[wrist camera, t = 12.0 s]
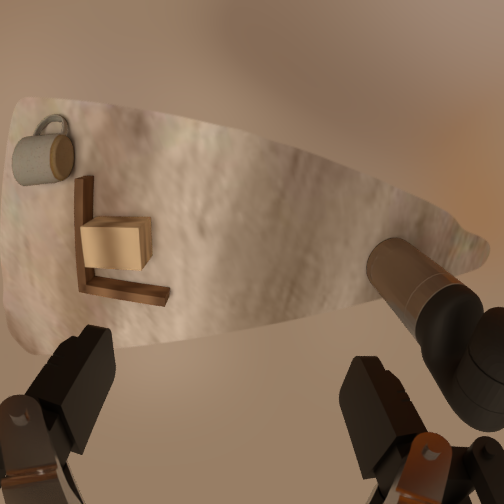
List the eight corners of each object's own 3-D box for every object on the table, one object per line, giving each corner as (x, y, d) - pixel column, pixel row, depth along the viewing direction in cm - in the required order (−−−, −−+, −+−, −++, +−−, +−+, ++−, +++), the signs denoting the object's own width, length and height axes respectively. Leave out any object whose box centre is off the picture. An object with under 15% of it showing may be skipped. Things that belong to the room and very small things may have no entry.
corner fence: (176, 182, 43) (171, 186, 39) (169, 295, 49) (164, 306, 45) (85, 175, 42) (74, 178, 38) (87, 282, 48) (79, 291, 44)
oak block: (150, 216, 44) (138, 227, 39) (152, 254, 47) (141, 270, 41) (97, 216, 44) (80, 226, 38) (100, 252, 46) (85, 267, 40)
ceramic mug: (77, 178, 42) (51, 185, 34) (38, 182, 41) (11, 189, 34) (77, 111, 38) (51, 107, 31) (38, 119, 38) (9, 118, 31)
